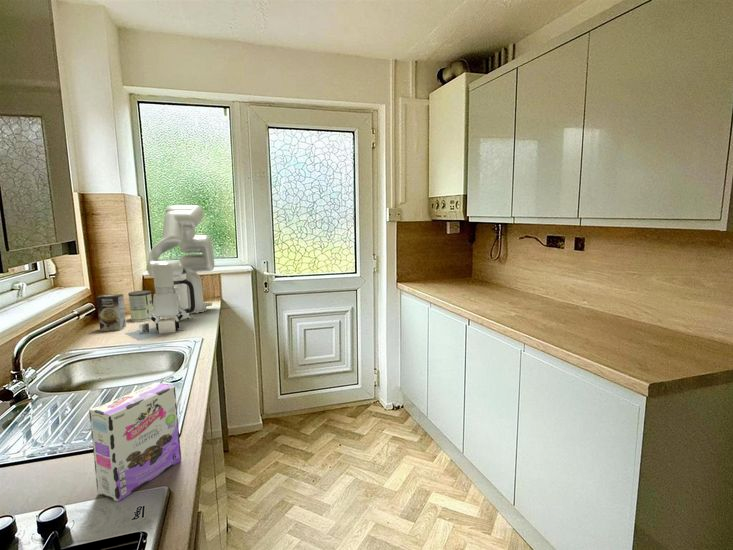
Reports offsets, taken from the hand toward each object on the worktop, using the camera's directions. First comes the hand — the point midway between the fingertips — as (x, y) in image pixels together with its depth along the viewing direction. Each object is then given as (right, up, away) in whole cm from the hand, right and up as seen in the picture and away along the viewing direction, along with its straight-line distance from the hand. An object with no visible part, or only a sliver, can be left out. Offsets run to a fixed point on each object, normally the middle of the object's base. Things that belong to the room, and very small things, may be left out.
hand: (168, 330), depth 177 cm
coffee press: (-6, +1, +23) cm, 24 cm away
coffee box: (-31, -1, +10) cm, 32 cm away
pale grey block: (-9, -1, -3) cm, 9 cm away
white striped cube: (0, 0, 0) cm, 0 cm away
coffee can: (-27, +2, +29) cm, 40 cm away
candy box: (+44, -15, -99) cm, 110 cm away
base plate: (-5, -2, -1) cm, 5 cm away
